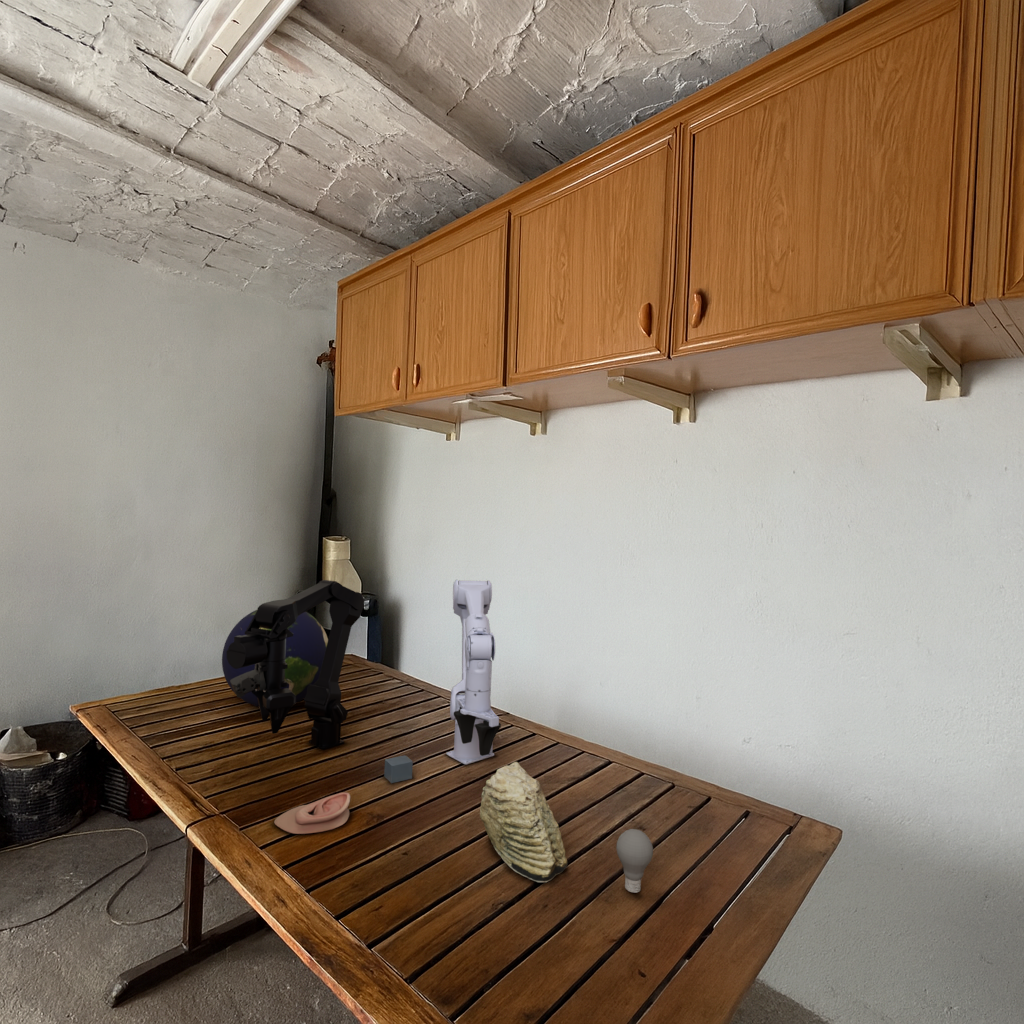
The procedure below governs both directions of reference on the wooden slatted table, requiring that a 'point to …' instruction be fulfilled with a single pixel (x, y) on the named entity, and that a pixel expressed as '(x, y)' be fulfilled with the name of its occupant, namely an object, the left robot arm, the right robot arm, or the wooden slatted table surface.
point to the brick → (398, 769)
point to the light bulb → (634, 857)
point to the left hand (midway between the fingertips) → (269, 726)
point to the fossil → (522, 824)
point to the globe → (287, 655)
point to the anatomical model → (316, 815)
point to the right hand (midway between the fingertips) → (475, 748)
